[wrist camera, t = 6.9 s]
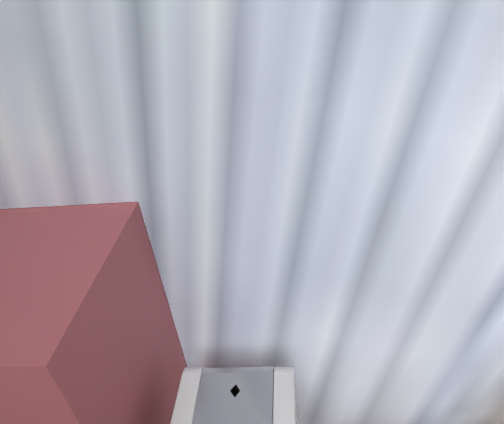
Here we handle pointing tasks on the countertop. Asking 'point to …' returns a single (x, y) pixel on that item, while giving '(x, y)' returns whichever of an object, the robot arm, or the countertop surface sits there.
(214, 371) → the robot arm
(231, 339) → the countertop surface
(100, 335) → the carton
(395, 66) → the countertop surface
